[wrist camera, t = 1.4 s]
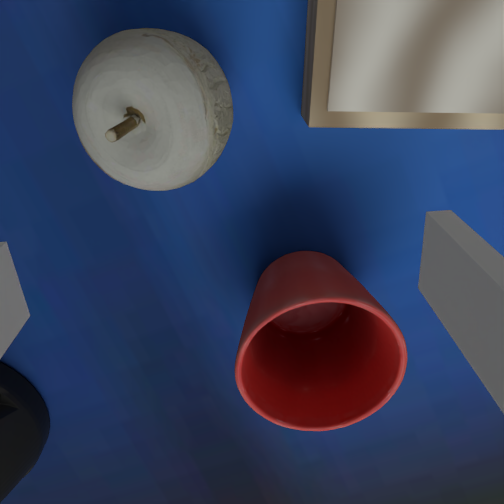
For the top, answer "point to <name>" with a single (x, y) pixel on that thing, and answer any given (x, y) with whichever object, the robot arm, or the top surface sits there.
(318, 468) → the top surface
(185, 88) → the decorative object
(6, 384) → the robot arm
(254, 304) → the flower pot
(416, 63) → the plinth
